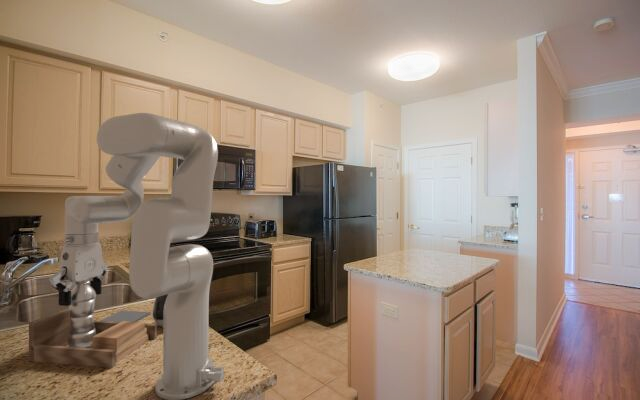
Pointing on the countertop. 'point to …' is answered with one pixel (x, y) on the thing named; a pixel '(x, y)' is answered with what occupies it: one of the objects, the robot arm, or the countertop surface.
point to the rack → (52, 340)
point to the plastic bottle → (82, 315)
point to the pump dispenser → (159, 309)
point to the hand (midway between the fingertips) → (81, 299)
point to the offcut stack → (122, 338)
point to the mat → (126, 316)
